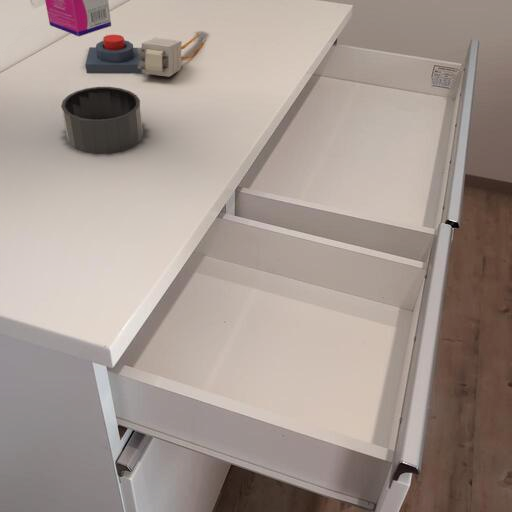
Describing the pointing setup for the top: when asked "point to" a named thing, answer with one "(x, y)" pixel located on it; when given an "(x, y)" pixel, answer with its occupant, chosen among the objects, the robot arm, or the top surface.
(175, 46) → the electrical component
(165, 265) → the top surface
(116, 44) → the power button
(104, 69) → the button housing
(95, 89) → the dark grey round bin
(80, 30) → the supplement box
